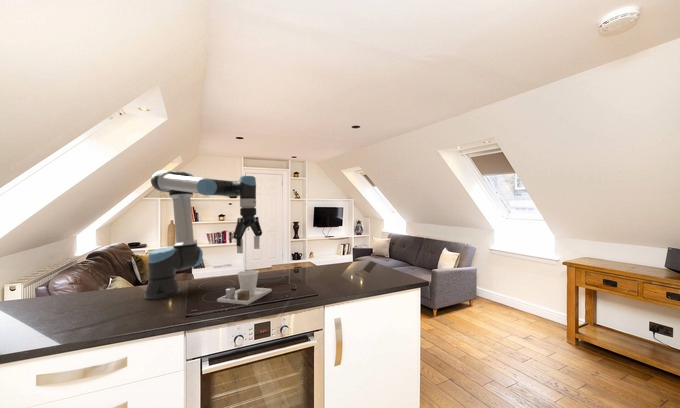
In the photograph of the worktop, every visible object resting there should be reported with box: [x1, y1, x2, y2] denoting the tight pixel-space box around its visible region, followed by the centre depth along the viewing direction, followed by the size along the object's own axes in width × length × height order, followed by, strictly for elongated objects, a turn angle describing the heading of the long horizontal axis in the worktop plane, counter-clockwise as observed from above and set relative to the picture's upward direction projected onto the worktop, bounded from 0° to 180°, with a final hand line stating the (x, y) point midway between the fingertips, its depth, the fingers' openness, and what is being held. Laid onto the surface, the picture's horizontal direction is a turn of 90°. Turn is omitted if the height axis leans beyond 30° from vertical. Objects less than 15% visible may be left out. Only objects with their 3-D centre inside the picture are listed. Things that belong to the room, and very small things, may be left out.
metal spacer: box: [225, 287, 236, 300], centre depth 131 cm, size 4×4×5 cm
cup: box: [236, 269, 259, 297], centre depth 137 cm, size 10×10×11 cm
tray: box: [216, 287, 273, 306], centre depth 135 cm, size 16×20×2 cm
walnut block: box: [237, 291, 249, 301], centre depth 129 cm, size 4×4×4 cm
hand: (248, 250), depth 138 cm, fingers open, 13 cm apart
